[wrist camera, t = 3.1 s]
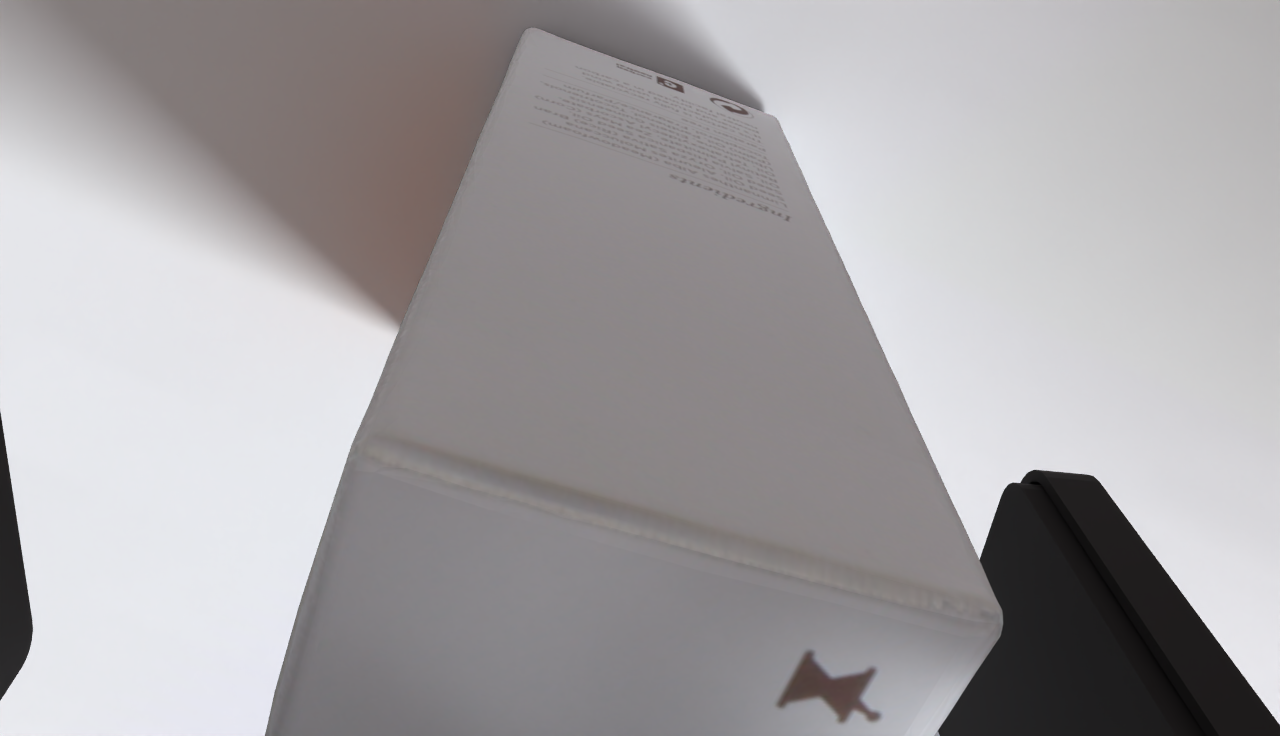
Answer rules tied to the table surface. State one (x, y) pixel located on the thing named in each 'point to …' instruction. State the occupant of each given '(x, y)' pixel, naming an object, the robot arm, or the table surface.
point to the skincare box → (635, 454)
